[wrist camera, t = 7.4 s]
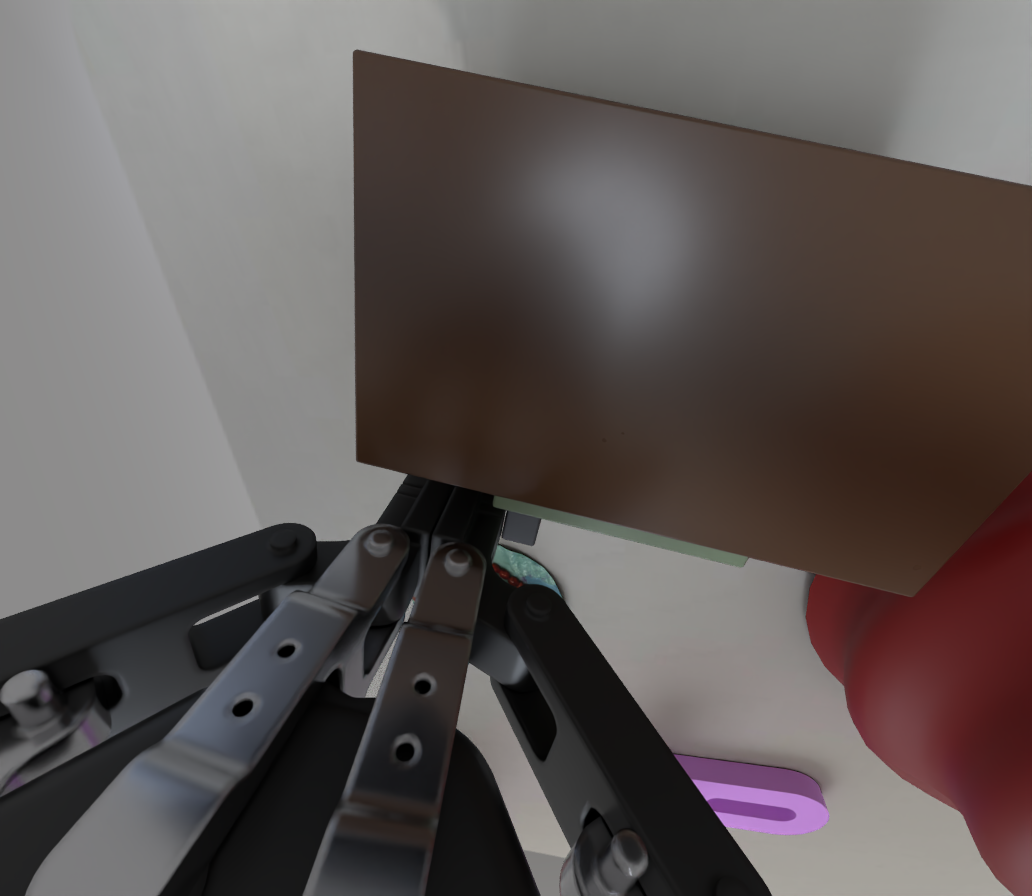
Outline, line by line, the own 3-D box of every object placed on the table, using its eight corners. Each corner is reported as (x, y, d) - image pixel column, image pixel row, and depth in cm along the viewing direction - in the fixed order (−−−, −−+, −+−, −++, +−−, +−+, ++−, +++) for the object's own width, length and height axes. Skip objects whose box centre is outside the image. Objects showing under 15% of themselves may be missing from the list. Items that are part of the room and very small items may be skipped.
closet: (750, 431, 19) (871, 643, 10) (464, 364, 19) (355, 514, 11) (871, 197, 14) (1259, 231, 6) (494, 118, 15) (351, 48, 6)
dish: (433, 694, 28) (428, 712, 21) (406, 575, 30) (393, 555, 23) (558, 649, 29) (592, 652, 22) (523, 540, 32) (544, 512, 25)
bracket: (617, 787, 35) (619, 915, 29) (621, 747, 32) (624, 878, 26) (808, 816, 32) (854, 960, 26) (830, 775, 30) (887, 926, 24)
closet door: (666, 464, 19) (703, 633, 12) (523, 430, 19) (478, 577, 12) (694, 399, 17) (754, 551, 10) (537, 363, 18) (495, 487, 11)
